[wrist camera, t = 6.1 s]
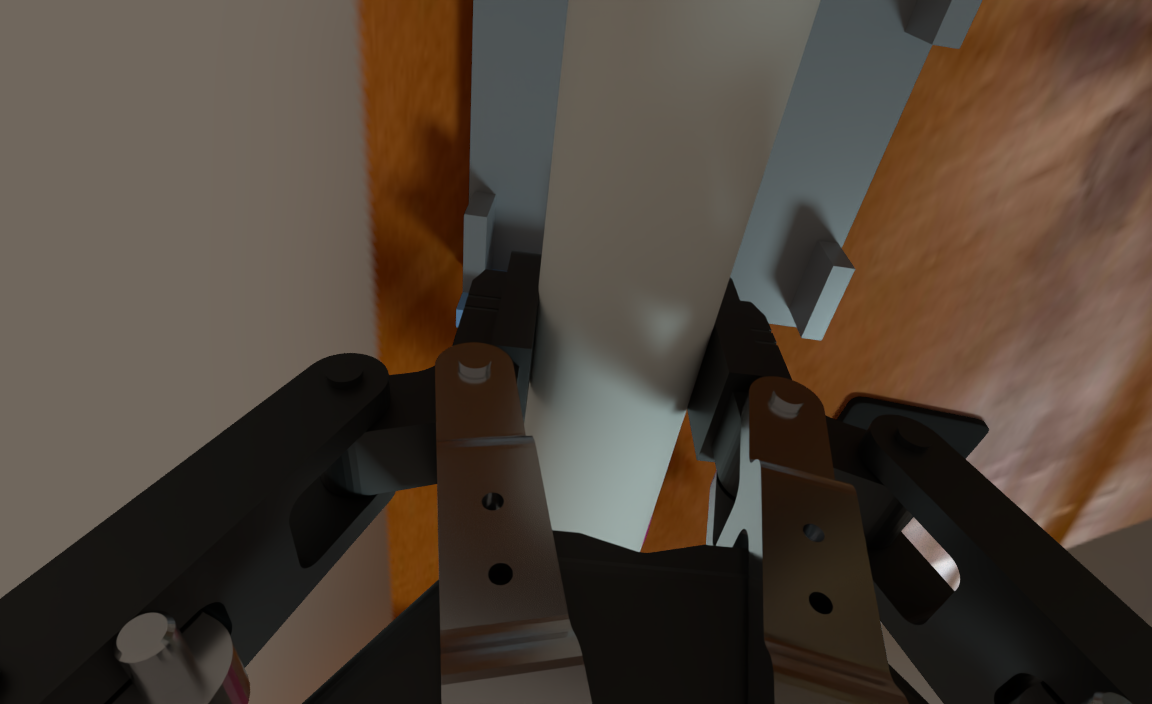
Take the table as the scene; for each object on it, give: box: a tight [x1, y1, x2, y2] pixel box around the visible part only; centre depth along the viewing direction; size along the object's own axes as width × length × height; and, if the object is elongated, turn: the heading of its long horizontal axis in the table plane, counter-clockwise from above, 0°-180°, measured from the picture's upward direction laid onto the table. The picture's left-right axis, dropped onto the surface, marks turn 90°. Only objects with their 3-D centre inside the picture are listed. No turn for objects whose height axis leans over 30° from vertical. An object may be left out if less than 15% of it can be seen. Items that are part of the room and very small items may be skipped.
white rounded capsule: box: [524, 0, 820, 552], centre depth 12 cm, size 16×4×4 cm, turn 173°
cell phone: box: [837, 397, 989, 526], centre depth 41 cm, size 9×18×1 cm, turn 168°
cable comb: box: [456, 0, 982, 340], centre depth 24 cm, size 19×18×5 cm
